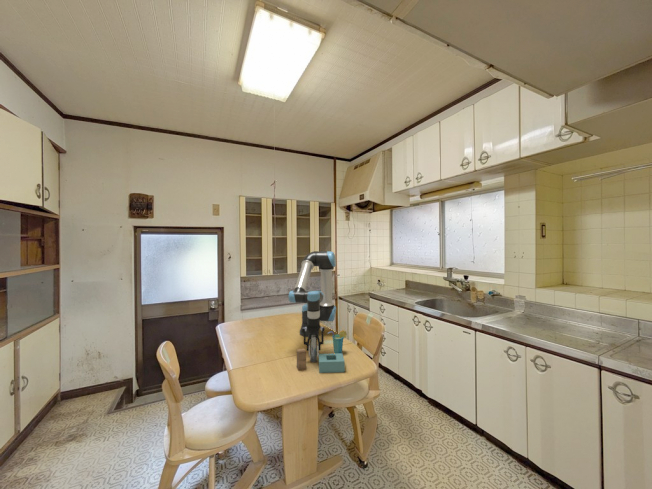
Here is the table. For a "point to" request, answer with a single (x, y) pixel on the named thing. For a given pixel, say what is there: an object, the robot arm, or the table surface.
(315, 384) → the table surface
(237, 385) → the table surface
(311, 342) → the round dowel
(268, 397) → the table surface
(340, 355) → the socket block
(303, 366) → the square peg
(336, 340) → the cup
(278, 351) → the table surface
